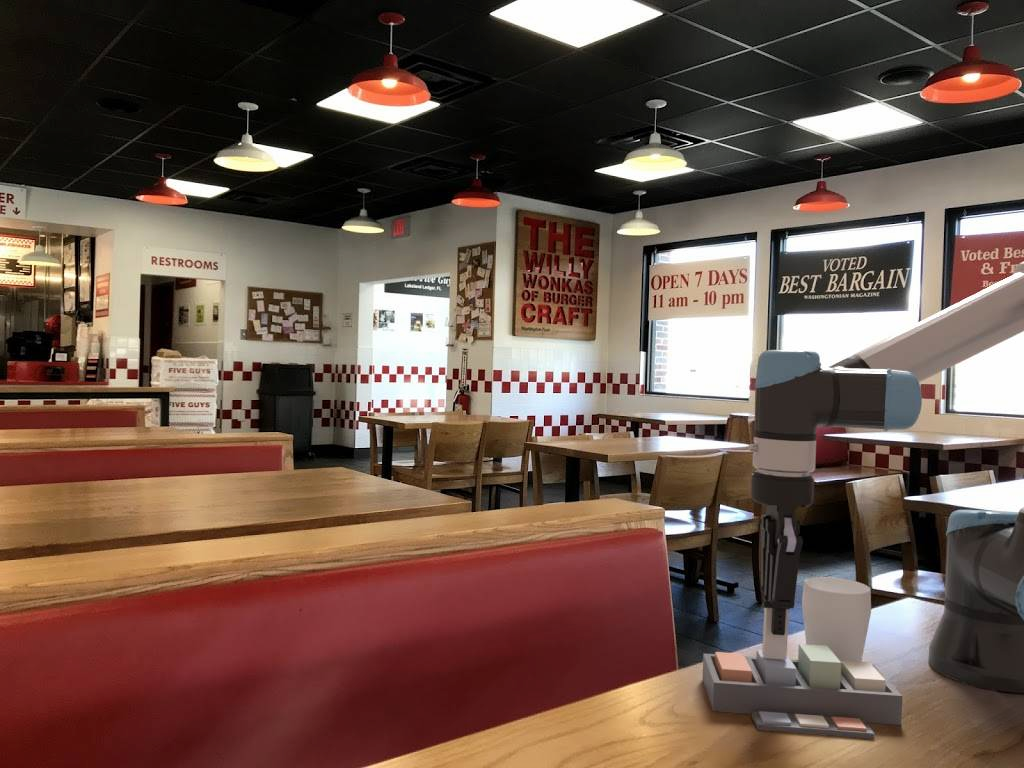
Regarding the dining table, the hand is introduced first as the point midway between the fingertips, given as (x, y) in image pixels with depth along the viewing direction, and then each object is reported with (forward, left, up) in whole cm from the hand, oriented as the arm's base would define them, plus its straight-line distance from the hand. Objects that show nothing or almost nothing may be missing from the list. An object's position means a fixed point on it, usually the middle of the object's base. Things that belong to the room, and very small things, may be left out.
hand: (774, 656), depth 101 cm
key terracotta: (+5, 0, -4) cm, 7 cm away
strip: (-3, +7, -6) cm, 10 cm away
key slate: (0, 0, -4) cm, 4 cm away
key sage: (-6, 0, -3) cm, 6 cm away
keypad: (-3, 0, -6) cm, 6 cm away
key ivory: (-11, 0, -5) cm, 12 cm away
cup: (-11, -12, -6) cm, 17 cm away
